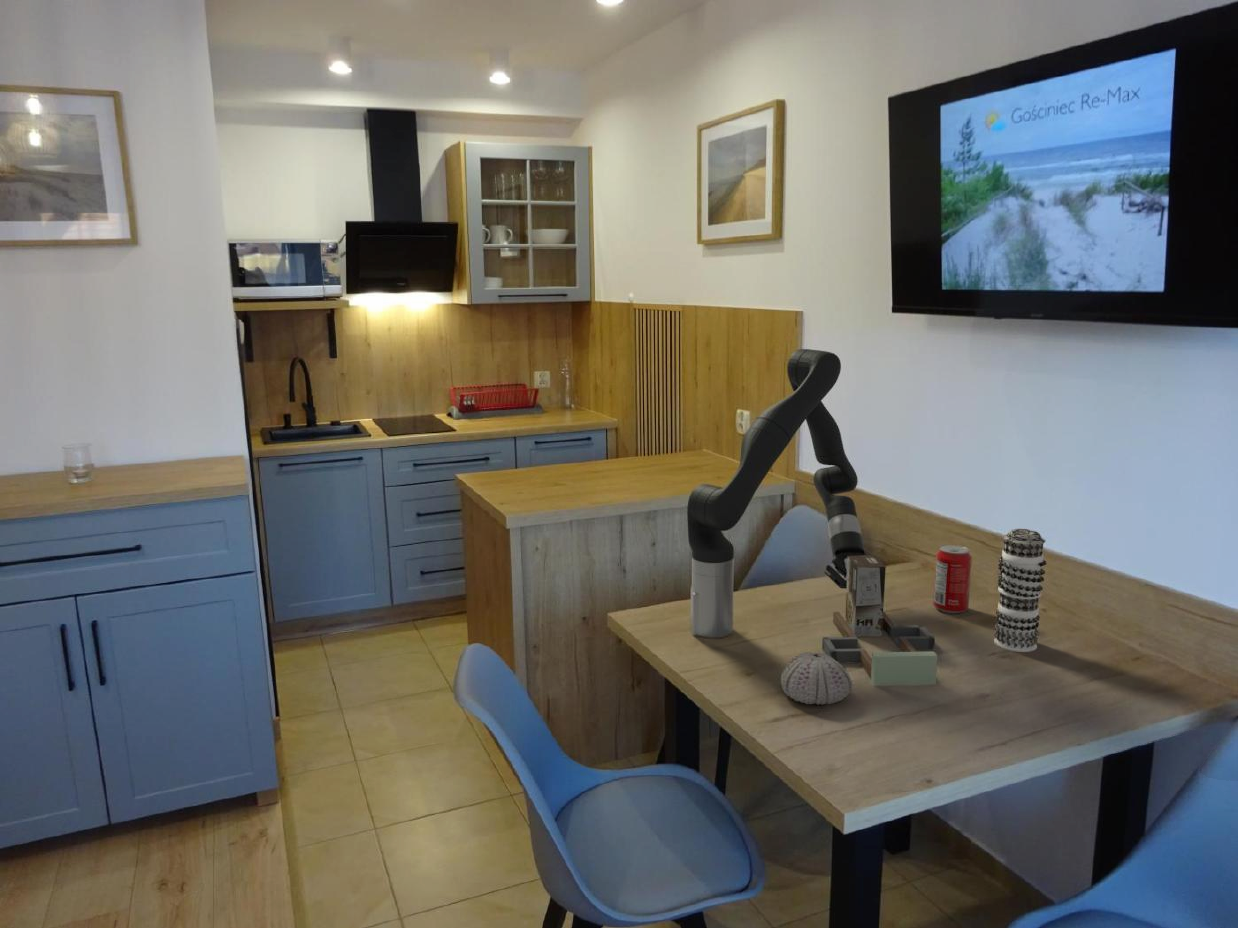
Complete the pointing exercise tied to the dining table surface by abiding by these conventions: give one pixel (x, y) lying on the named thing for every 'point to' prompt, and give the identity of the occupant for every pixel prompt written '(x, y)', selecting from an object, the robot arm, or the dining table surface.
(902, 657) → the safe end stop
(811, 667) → the sea urchin shell
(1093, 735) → the dining table surface
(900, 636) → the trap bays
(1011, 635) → the white grey tall cylinder
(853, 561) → the coffee box
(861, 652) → the walnut lane
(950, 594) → the soda can
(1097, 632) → the dining table surface
